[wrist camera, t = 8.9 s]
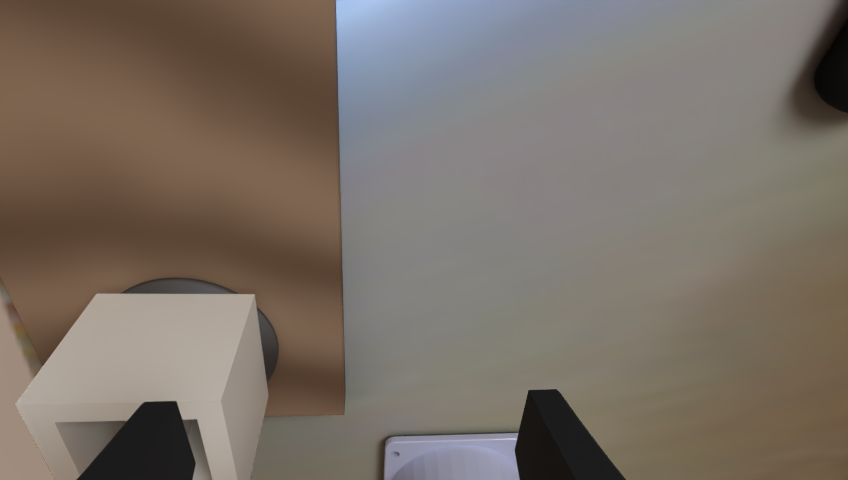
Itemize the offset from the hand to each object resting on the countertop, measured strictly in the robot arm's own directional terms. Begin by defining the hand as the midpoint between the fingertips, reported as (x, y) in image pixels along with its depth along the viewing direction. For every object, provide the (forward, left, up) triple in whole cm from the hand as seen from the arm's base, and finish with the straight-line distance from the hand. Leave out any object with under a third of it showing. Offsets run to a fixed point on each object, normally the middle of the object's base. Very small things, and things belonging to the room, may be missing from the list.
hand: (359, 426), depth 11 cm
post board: (-2, +7, -10) cm, 12 cm away
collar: (-6, +7, -9) cm, 12 cm away
